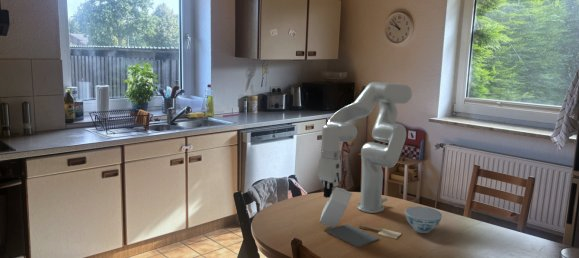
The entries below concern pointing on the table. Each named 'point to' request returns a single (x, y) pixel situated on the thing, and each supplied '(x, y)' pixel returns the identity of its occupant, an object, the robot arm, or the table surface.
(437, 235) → the table surface
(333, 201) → the milk carton
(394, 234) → the turner
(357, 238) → the mat
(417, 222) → the chinaware
